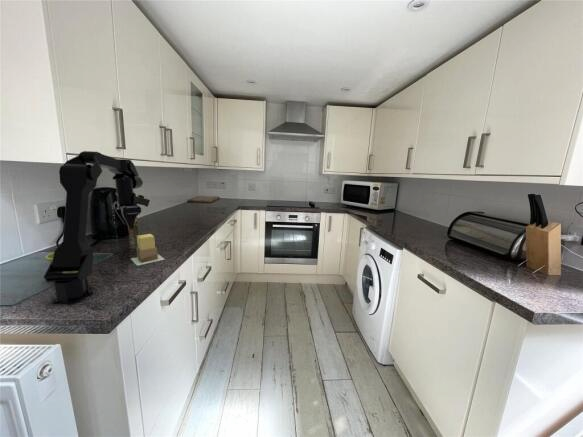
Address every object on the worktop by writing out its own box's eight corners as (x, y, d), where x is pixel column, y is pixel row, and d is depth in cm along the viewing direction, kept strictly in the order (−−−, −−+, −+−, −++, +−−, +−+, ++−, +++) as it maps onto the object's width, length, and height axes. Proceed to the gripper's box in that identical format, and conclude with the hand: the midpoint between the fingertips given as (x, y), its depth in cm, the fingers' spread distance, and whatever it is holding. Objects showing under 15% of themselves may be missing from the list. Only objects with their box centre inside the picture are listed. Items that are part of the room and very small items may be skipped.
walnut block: (157, 259, 98) (157, 247, 97) (141, 262, 94) (140, 250, 93) (153, 255, 102) (152, 244, 101) (137, 258, 98) (136, 247, 97)
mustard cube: (155, 247, 97) (154, 236, 96) (141, 250, 93) (140, 238, 92) (151, 244, 100) (150, 233, 99) (137, 247, 97) (136, 235, 96)
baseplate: (164, 260, 98) (164, 259, 98) (137, 267, 91) (137, 265, 91) (156, 254, 105) (156, 253, 105) (130, 259, 98) (130, 258, 98)
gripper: (153, 191, 96) (156, 228, 99) (140, 188, 109) (143, 220, 112) (121, 192, 88) (125, 232, 91) (111, 188, 101) (115, 224, 104)
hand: (128, 226), depth 100 cm, fingers open, 9 cm apart
